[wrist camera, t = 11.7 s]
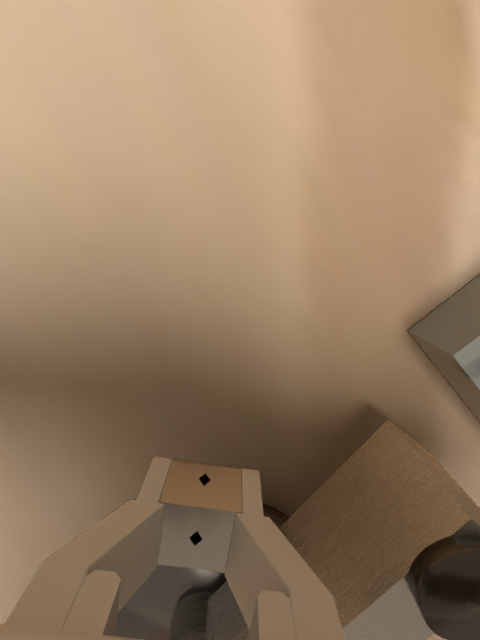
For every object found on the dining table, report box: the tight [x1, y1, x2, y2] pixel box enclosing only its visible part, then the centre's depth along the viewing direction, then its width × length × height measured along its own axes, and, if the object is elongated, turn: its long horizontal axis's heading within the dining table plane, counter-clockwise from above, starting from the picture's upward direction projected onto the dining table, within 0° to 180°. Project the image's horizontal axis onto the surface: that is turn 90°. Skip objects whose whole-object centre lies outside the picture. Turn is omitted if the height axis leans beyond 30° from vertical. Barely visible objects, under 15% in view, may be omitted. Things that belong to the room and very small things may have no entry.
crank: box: [168, 420, 480, 640], centre depth 10 cm, size 12×3×5 cm, turn 142°
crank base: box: [116, 504, 289, 640], centre depth 14 cm, size 10×10×1 cm
